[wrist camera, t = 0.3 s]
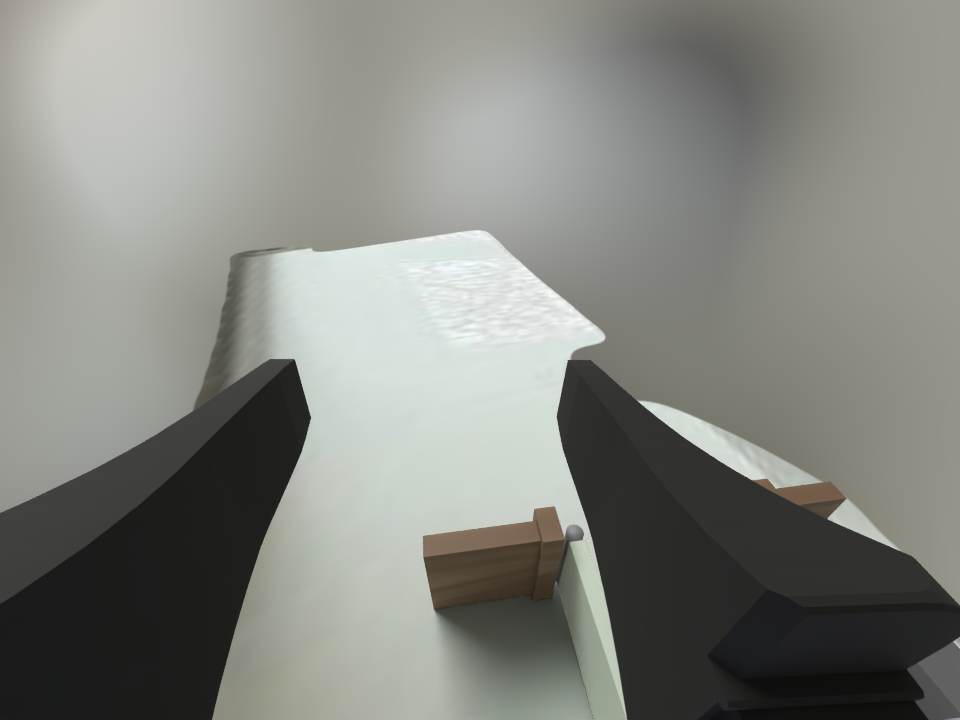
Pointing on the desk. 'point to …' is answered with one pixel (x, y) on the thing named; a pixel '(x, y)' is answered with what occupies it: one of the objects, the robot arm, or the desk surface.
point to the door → (590, 626)
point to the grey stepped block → (939, 683)
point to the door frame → (538, 552)
